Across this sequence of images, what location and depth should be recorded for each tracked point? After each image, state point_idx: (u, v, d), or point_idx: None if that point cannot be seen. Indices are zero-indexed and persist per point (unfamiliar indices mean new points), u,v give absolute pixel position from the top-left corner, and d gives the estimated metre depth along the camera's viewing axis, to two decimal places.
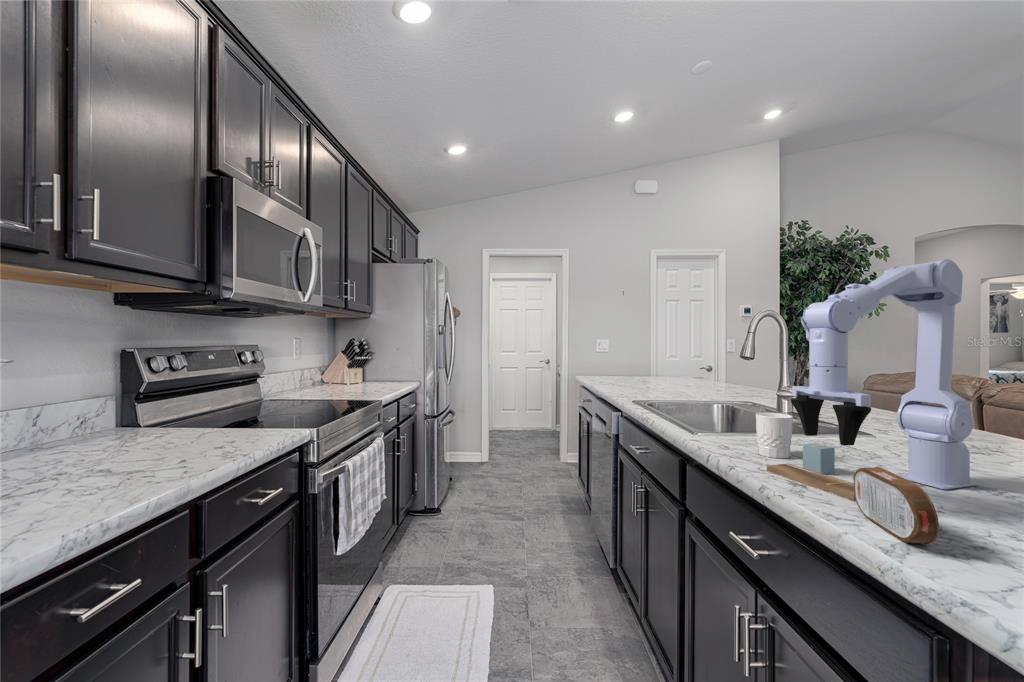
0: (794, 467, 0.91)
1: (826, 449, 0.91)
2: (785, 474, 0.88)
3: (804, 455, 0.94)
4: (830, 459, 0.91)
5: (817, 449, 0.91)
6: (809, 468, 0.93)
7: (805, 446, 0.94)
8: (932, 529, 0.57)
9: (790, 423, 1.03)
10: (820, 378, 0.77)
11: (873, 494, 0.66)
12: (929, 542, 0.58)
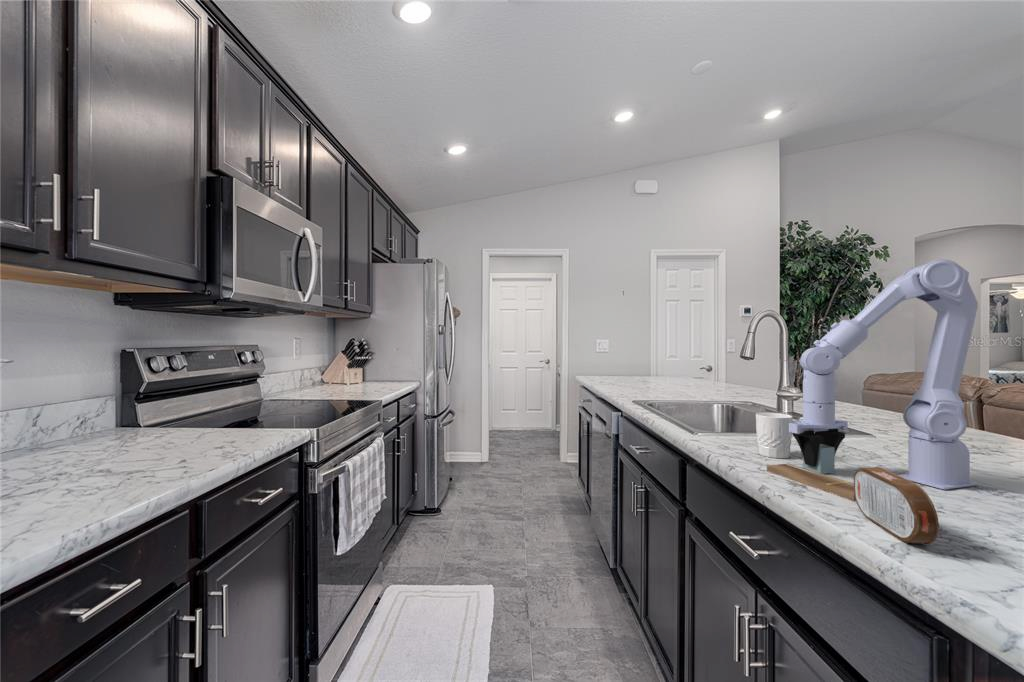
0: (794, 467, 0.91)
1: (826, 449, 0.91)
2: (785, 474, 0.88)
3: None
4: (830, 459, 0.91)
5: None
6: (809, 468, 0.93)
7: None
8: (932, 529, 0.57)
9: None
10: None
11: (873, 494, 0.66)
12: (929, 542, 0.58)
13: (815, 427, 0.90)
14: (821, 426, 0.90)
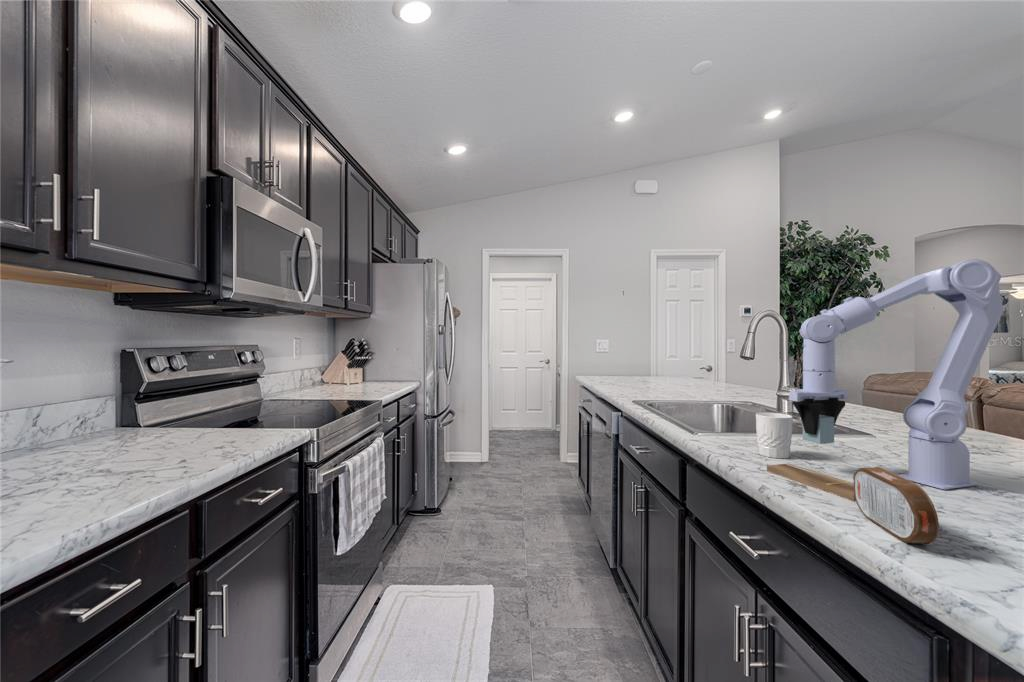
0: (794, 467, 0.91)
1: (826, 418, 0.91)
2: (785, 474, 0.88)
3: None
4: (830, 428, 0.91)
5: None
6: (809, 438, 0.93)
7: None
8: (932, 529, 0.57)
9: (790, 423, 1.03)
10: None
11: (873, 494, 0.66)
12: (929, 542, 0.58)
13: (815, 395, 0.90)
14: (821, 394, 0.90)
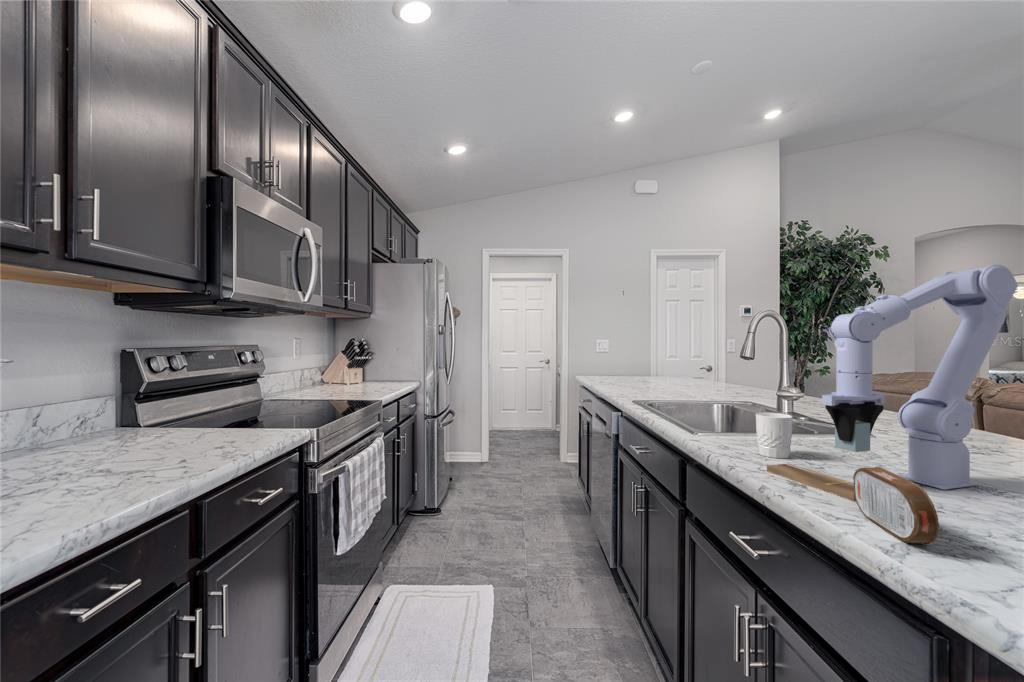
0: (794, 467, 0.91)
1: (861, 424, 0.84)
2: (785, 474, 0.88)
3: (836, 432, 0.87)
4: (865, 435, 0.85)
5: None
6: (842, 446, 0.86)
7: None
8: (932, 529, 0.57)
9: (790, 423, 1.03)
10: None
11: (873, 494, 0.66)
12: (929, 542, 0.58)
13: (851, 399, 0.83)
14: (858, 397, 0.83)
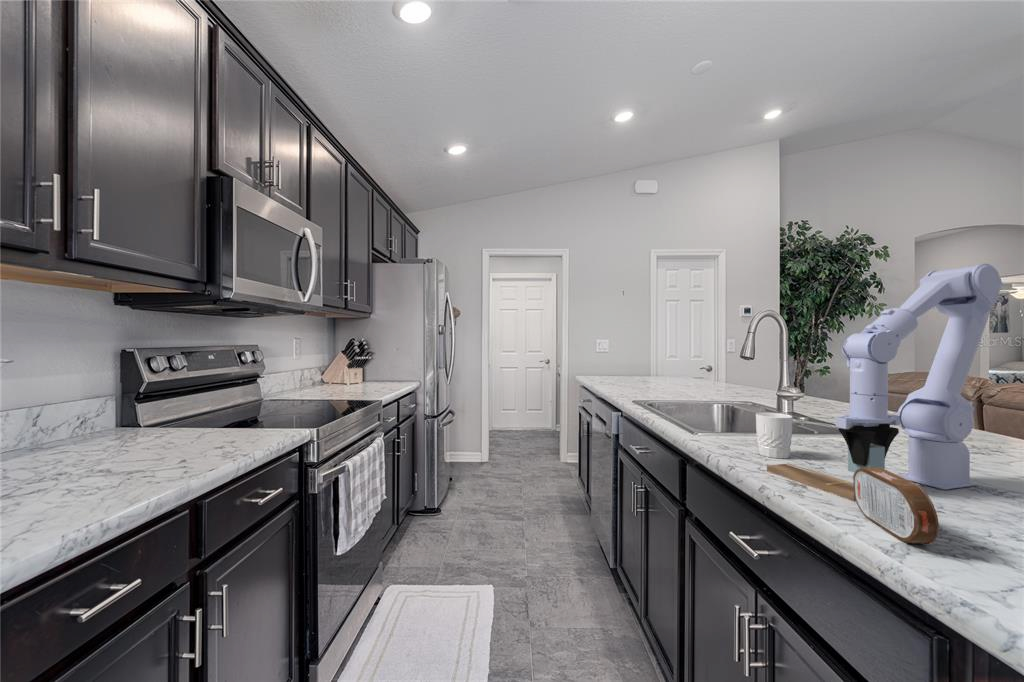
0: (794, 467, 0.91)
1: (876, 448, 0.82)
2: (785, 474, 0.88)
3: (849, 455, 0.85)
4: (880, 459, 0.82)
5: None
6: (856, 469, 0.84)
7: None
8: (932, 529, 0.57)
9: (790, 423, 1.03)
10: None
11: (873, 494, 0.66)
12: (929, 542, 0.58)
13: (866, 422, 0.81)
14: (873, 420, 0.80)
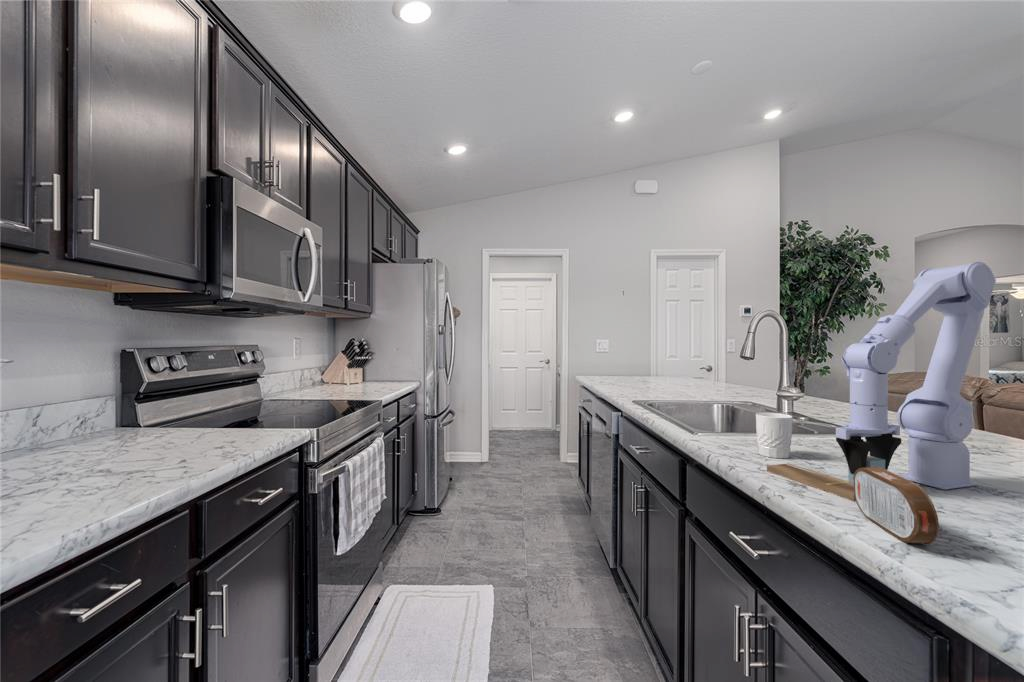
0: (794, 467, 0.91)
1: (876, 461, 0.82)
2: (785, 474, 0.88)
3: None
4: None
5: (866, 461, 0.82)
6: None
7: None
8: (932, 529, 0.57)
9: (790, 423, 1.03)
10: None
11: (873, 494, 0.66)
12: (929, 542, 0.58)
13: (866, 432, 0.81)
14: (873, 431, 0.80)
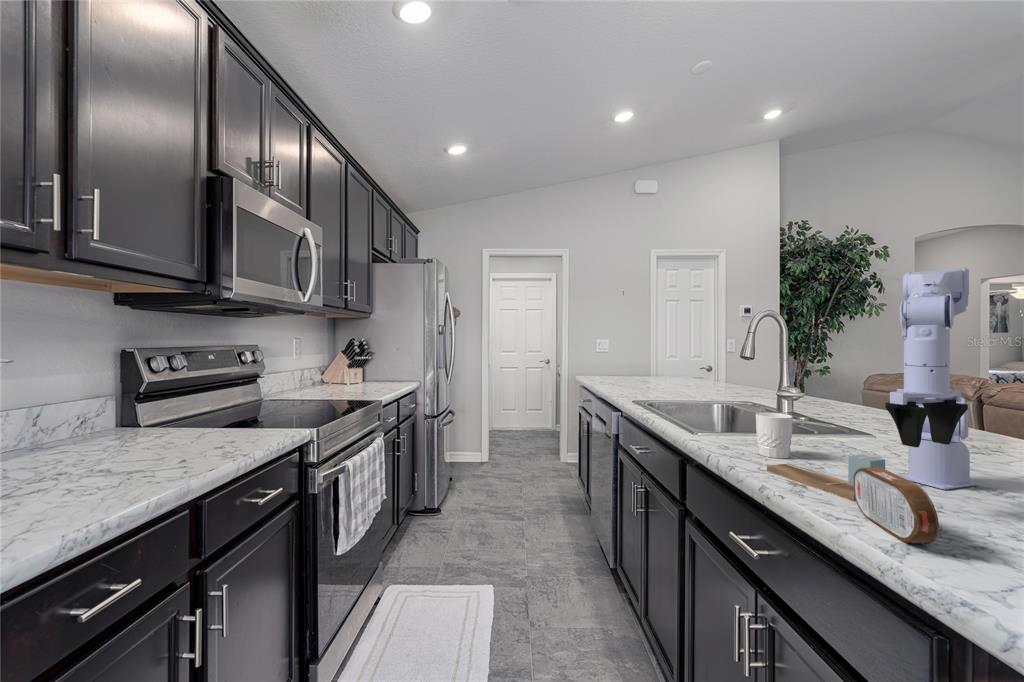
0: (794, 467, 0.91)
1: (876, 461, 0.82)
2: (785, 474, 0.88)
3: (850, 468, 0.85)
4: None
5: (866, 461, 0.82)
6: None
7: (851, 458, 0.84)
8: (932, 529, 0.57)
9: (790, 423, 1.03)
10: None
11: (873, 494, 0.66)
12: (929, 542, 0.58)
13: (926, 396, 0.71)
14: (934, 395, 0.71)
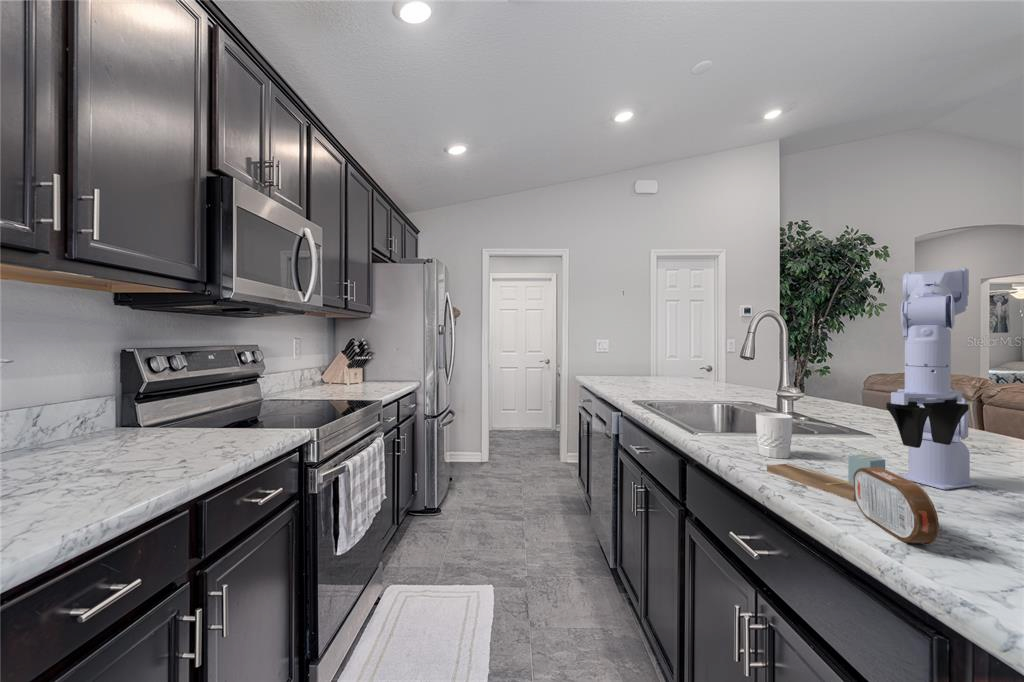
0: (794, 467, 0.91)
1: (876, 461, 0.82)
2: (785, 474, 0.88)
3: (850, 468, 0.85)
4: None
5: (866, 461, 0.82)
6: None
7: (851, 458, 0.84)
8: (932, 529, 0.57)
9: (790, 423, 1.03)
10: None
11: (873, 494, 0.66)
12: (929, 542, 0.58)
13: (927, 397, 0.71)
14: (935, 395, 0.71)
